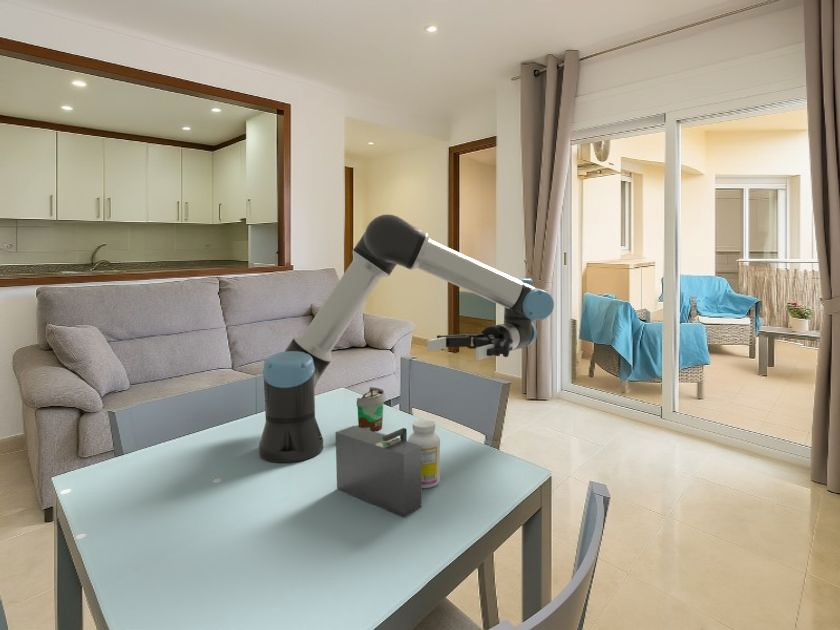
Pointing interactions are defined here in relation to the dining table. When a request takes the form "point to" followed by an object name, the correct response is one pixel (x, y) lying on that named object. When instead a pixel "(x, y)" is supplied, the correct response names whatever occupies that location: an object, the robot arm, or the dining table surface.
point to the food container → (371, 409)
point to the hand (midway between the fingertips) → (451, 349)
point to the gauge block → (379, 470)
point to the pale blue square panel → (396, 435)
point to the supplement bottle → (427, 451)
